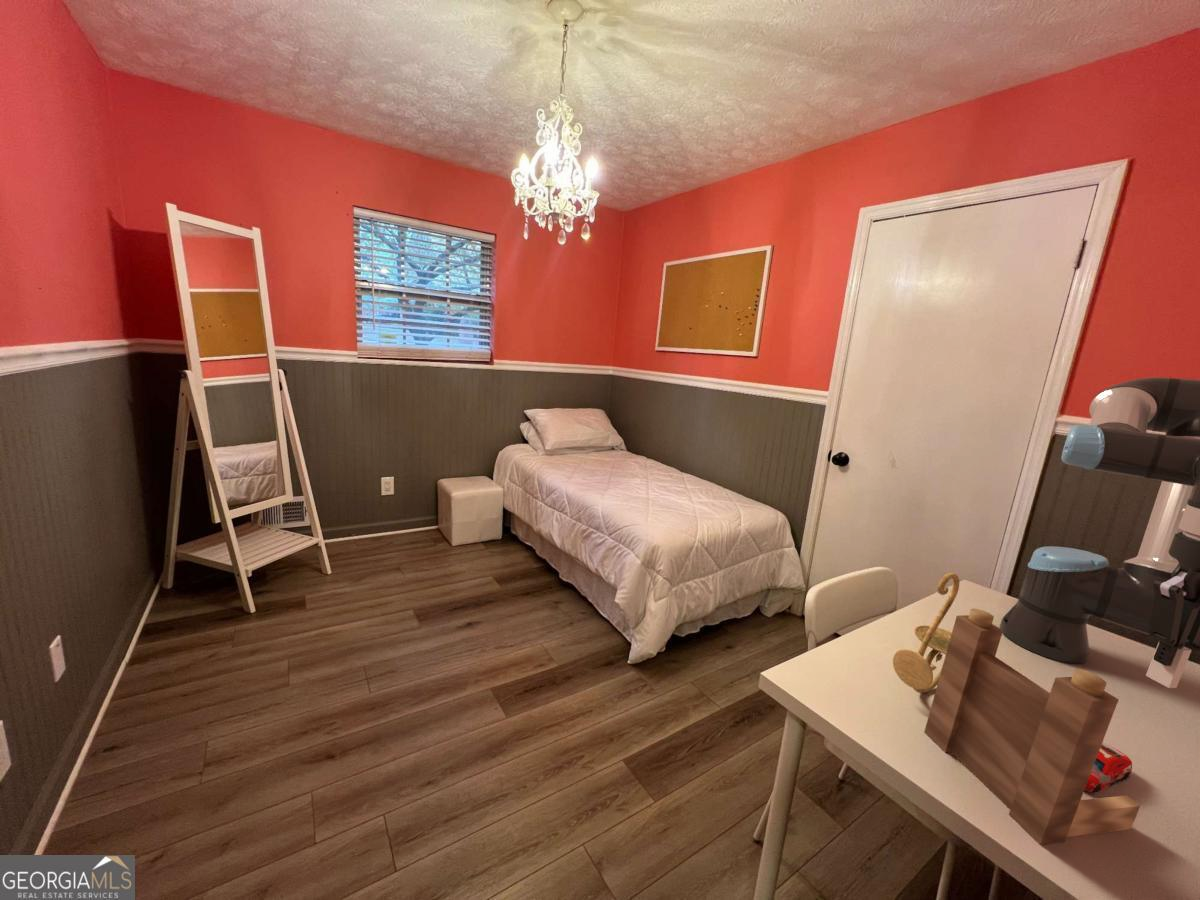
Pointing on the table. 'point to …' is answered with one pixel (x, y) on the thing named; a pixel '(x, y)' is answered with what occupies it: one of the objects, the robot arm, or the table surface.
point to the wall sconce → (913, 664)
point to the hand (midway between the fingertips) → (1160, 681)
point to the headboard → (1025, 735)
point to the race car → (1108, 769)
